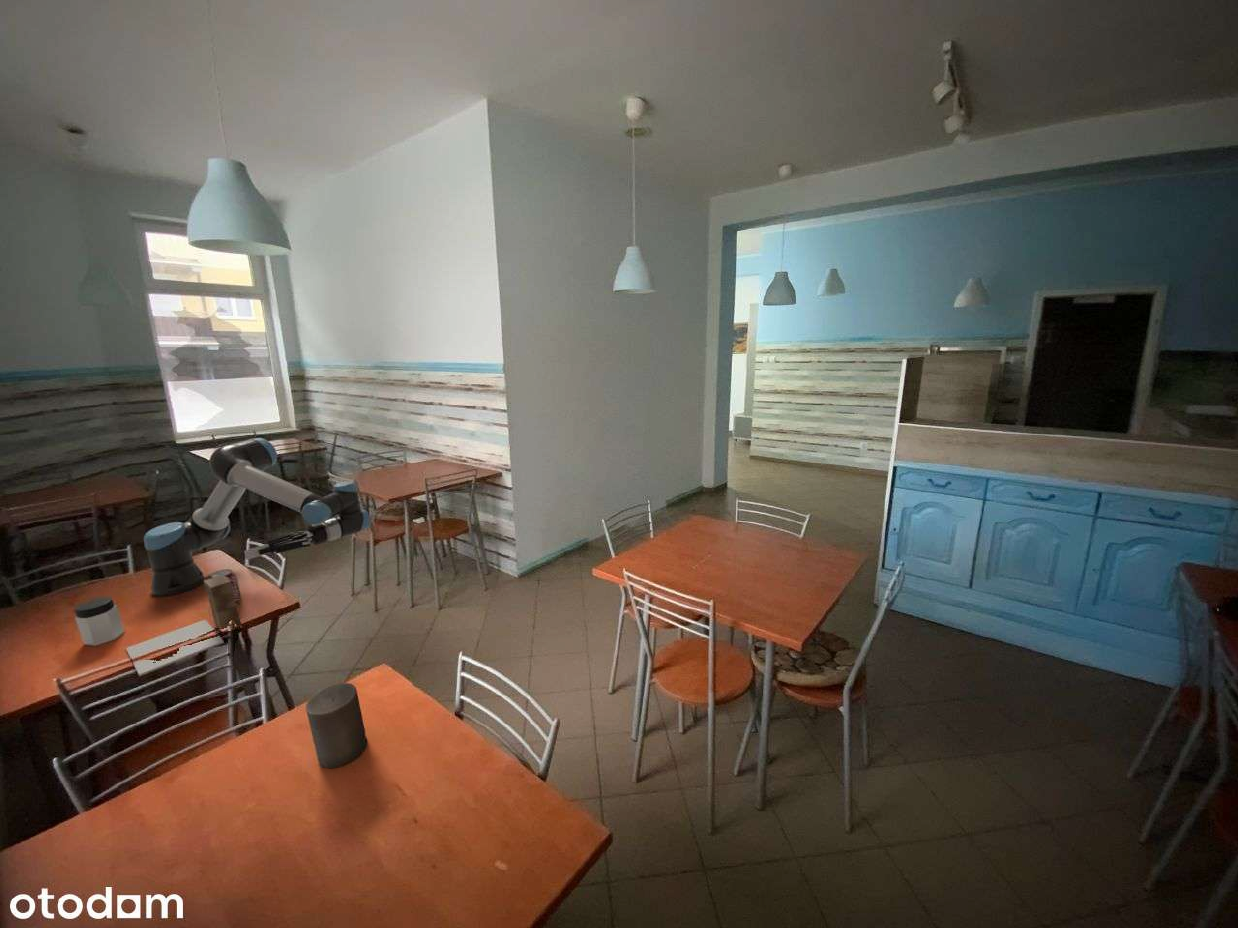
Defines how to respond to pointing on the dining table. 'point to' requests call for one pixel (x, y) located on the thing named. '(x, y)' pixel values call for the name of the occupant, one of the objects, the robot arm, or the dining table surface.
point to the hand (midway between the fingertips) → (245, 555)
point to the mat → (172, 639)
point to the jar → (98, 621)
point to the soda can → (234, 583)
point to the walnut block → (222, 601)
